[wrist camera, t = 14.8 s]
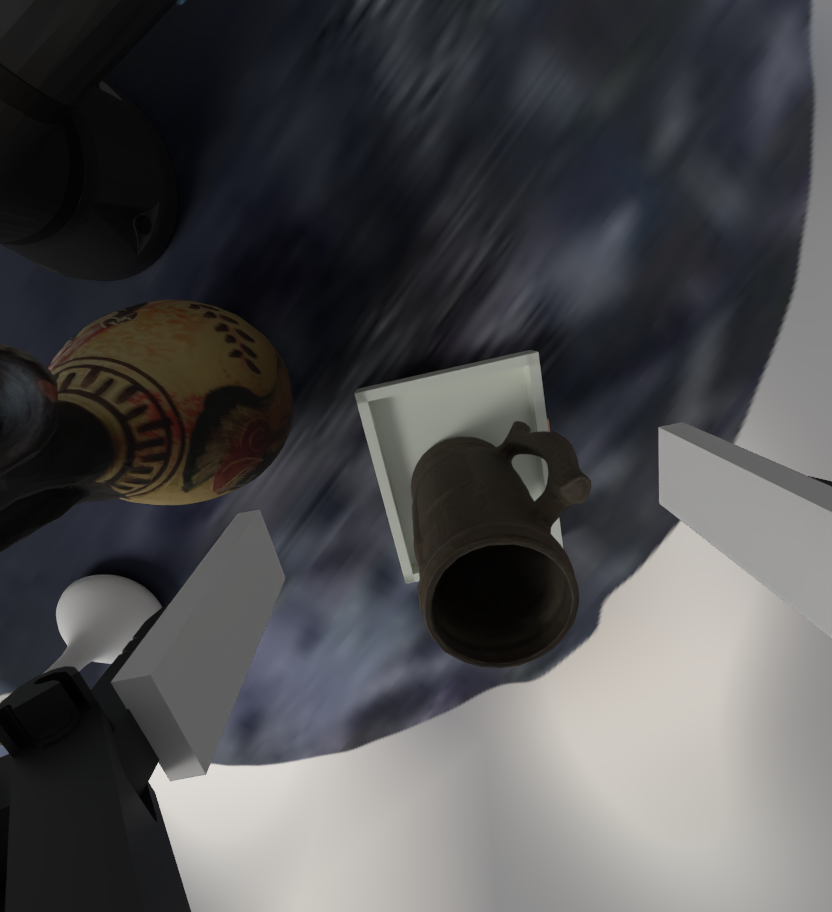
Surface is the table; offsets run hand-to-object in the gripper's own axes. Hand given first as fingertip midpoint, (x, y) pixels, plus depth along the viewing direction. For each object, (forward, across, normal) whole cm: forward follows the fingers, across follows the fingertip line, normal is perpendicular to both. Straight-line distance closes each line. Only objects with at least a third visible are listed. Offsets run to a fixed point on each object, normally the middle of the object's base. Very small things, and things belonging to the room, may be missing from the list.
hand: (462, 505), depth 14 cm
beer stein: (+28, +3, -10) cm, 30 cm away
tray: (+29, +2, -11) cm, 31 cm away
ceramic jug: (+29, -19, +2) cm, 35 cm away
